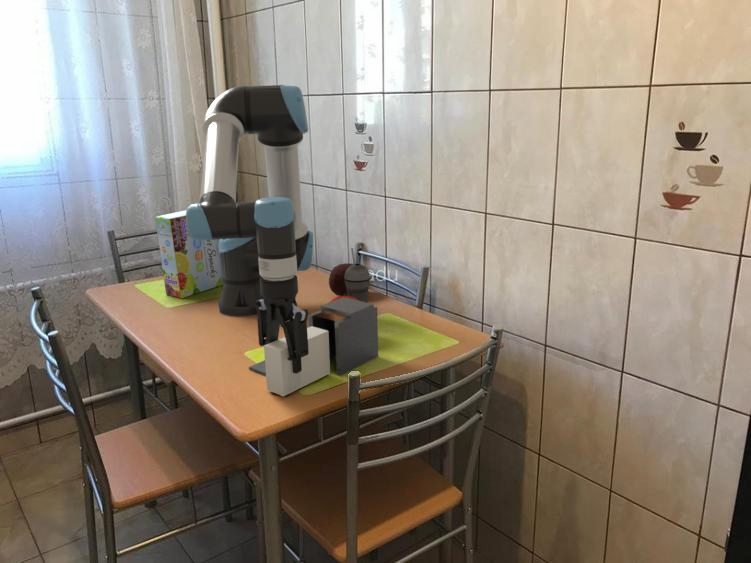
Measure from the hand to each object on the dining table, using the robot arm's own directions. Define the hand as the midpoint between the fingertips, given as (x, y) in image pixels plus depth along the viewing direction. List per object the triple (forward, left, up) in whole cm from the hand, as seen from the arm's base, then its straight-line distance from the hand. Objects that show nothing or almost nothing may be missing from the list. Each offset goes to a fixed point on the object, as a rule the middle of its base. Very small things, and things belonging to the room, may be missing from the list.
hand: (285, 382), depth 131 cm
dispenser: (0, +19, -2) cm, 19 cm away
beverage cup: (-17, +43, -2) cm, 46 cm away
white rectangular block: (0, +4, -1) cm, 4 cm away
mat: (-10, +10, -2) cm, 14 cm away
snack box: (-78, +34, -2) cm, 85 cm away
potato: (-33, +57, -2) cm, 66 cm away
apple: (-10, +30, -2) cm, 32 cm away
